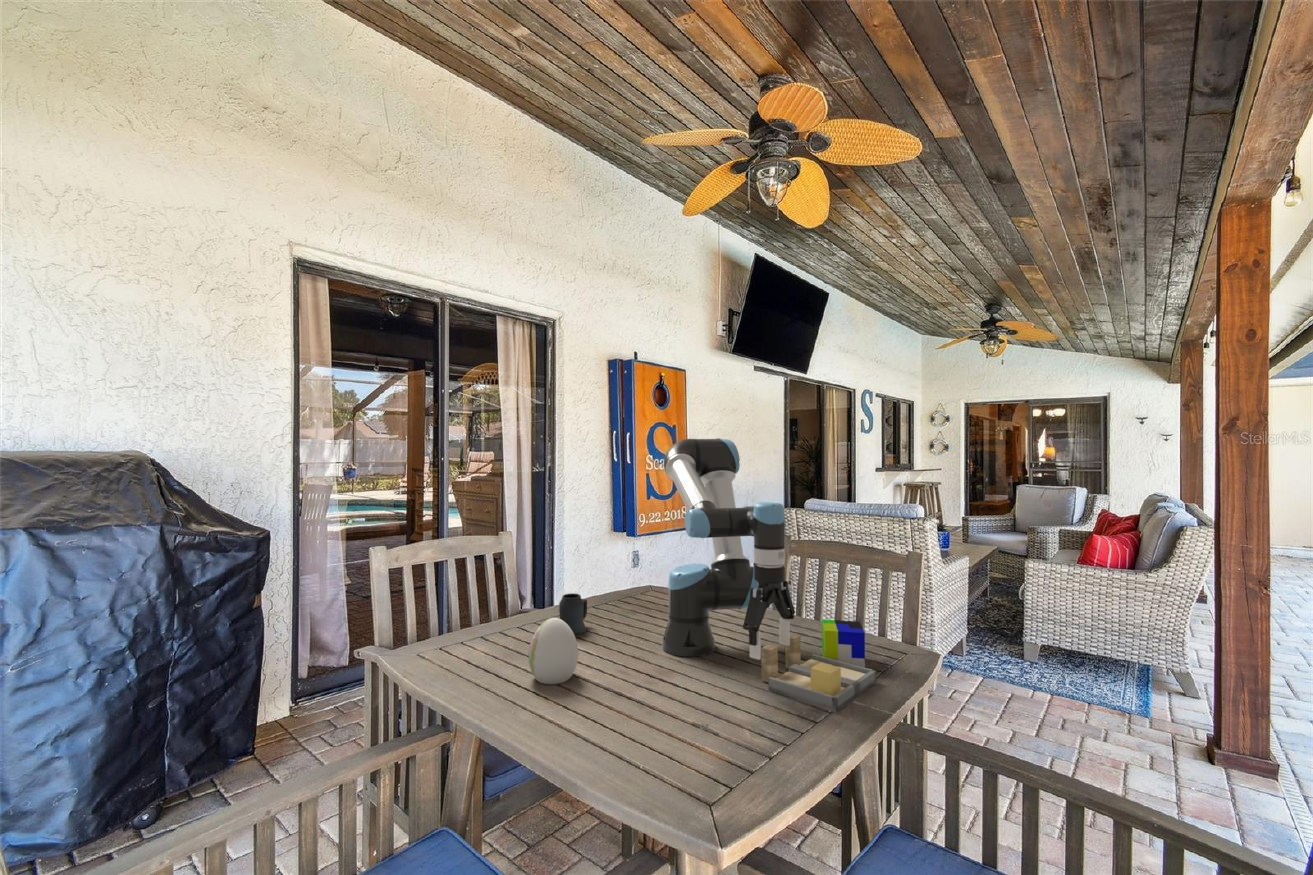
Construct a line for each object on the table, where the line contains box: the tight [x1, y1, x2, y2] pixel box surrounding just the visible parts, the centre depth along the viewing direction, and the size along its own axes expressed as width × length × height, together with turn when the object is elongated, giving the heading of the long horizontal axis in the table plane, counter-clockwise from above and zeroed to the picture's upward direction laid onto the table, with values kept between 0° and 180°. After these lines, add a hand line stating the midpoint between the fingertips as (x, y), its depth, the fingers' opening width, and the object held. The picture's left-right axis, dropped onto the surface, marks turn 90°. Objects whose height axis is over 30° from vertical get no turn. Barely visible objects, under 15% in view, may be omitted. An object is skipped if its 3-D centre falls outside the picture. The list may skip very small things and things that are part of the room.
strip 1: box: [784, 633, 832, 669], centre depth 152 cm, size 10×8×8 cm
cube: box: [811, 662, 841, 695], centre depth 136 cm, size 5×5×5 cm
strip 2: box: [761, 644, 845, 696], centre depth 141 cm, size 19×8×8 cm, turn 47°
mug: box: [558, 592, 588, 637], centre depth 187 cm, size 12×9×11 cm
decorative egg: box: [528, 617, 579, 685], centre depth 148 cm, size 12×12×15 cm
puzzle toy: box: [821, 619, 866, 668], centre depth 159 cm, size 10×10×10 cm
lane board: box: [768, 653, 877, 713], centre depth 143 cm, size 17×22×3 cm
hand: (770, 651), depth 146 cm, fingers open, 13 cm apart
